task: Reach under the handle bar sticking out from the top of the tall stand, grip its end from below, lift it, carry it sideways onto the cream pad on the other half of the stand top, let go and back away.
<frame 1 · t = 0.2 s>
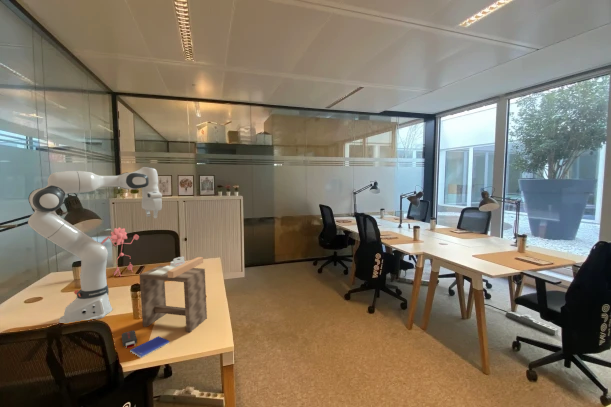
hand: (151, 217, 176), 48 cm above the table, tool pointing down, fingers open, 8 cm apart
handle bar: (186, 269, 147), point 26 cm above the table, touching stand
pink wire sculpture: (121, 273, 223), on the table
stand: (175, 322, 146), on the table
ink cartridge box: (178, 277, 213), on the table
usb drive: (129, 342, 130), on the table
hard drive: (150, 349, 125), on the table
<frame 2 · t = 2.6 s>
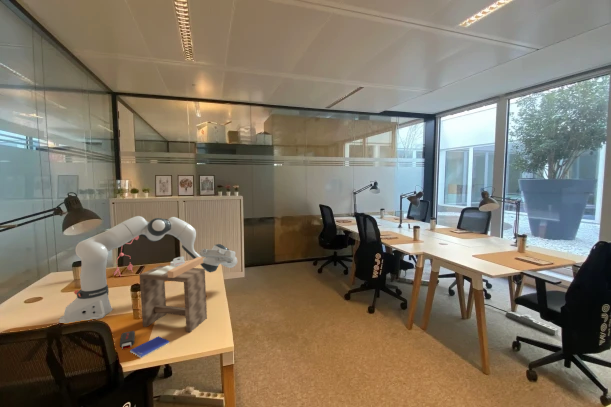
hand: (210, 250, 168), 30 cm above the table, tool pointing upward, fingers open, 8 cm apart
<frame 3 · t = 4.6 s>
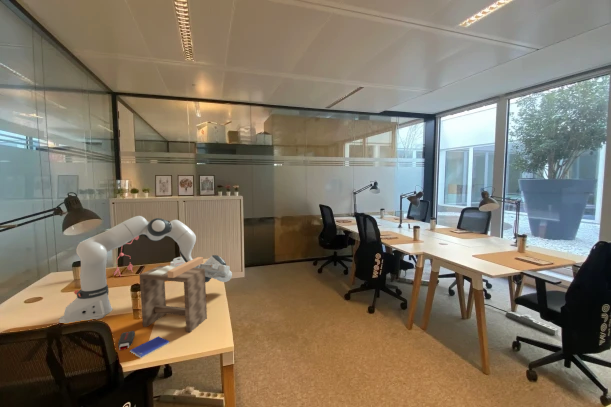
hand: (203, 265, 161), 24 cm above the table, tool pointing upward, fingers open, 8 cm apart
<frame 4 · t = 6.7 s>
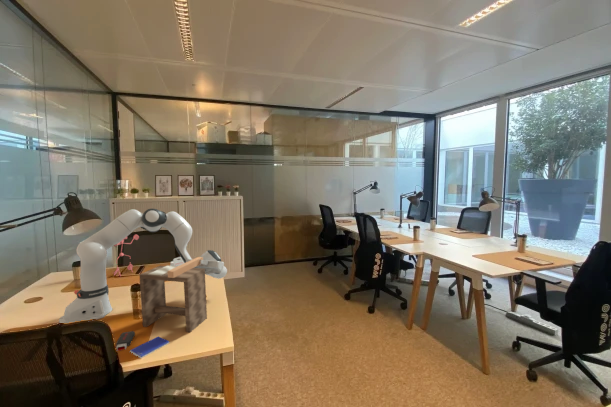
hand: (196, 261, 154), 28 cm above the table, tool pointing upward, fingers closed on handle bar, 3 cm apart
handle bar: (186, 269, 147), point 26 cm above the table, touching gripper, stand
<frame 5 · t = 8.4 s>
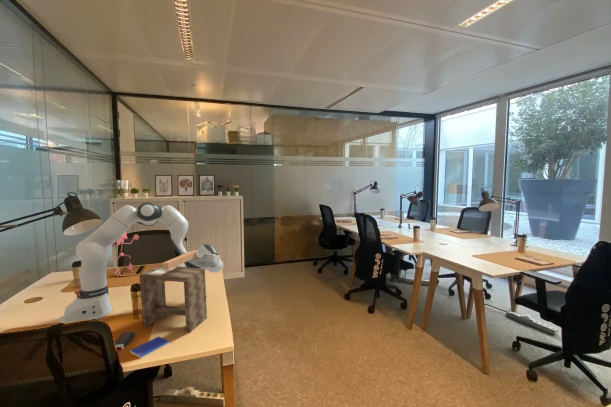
hand: (191, 254, 154), 32 cm above the table, tool pointing upward, fingers closed on handle bar, 3 cm apart
handle bar: (182, 262, 146), point 30 cm above the table, touching gripper
when the fingers open (29 cm above the table, at t = 10.4 s): handle bar stays where it is, resting on stand.
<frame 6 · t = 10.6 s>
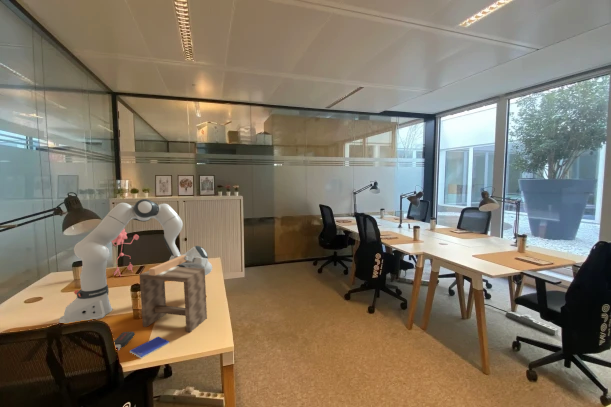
hand: (179, 257, 156), 29 cm above the table, tool pointing upward, fingers open, 5 cm apart
handle bar: (169, 267, 149), point 26 cm above the table, touching stand
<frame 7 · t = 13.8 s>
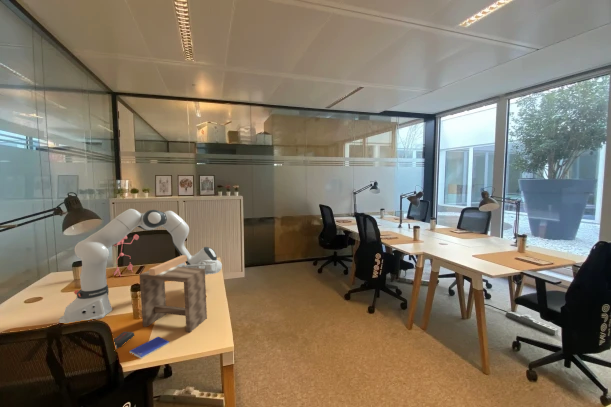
hand: (190, 268, 167), 20 cm above the table, tool pointing upward, fingers open, 8 cm apart
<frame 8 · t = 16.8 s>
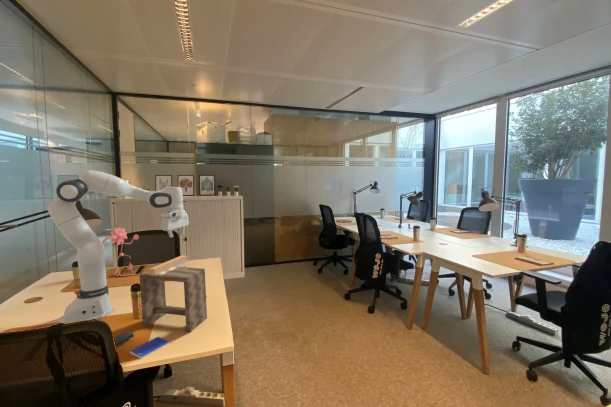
hand: (176, 235, 176), 37 cm above the table, tool pointing down, fingers open, 8 cm apart
at the end: handle bar 0.1 cm from the target spot, point 26.4 cm above the table; handle bar tilted 0°; the gripper is holding nothing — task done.
